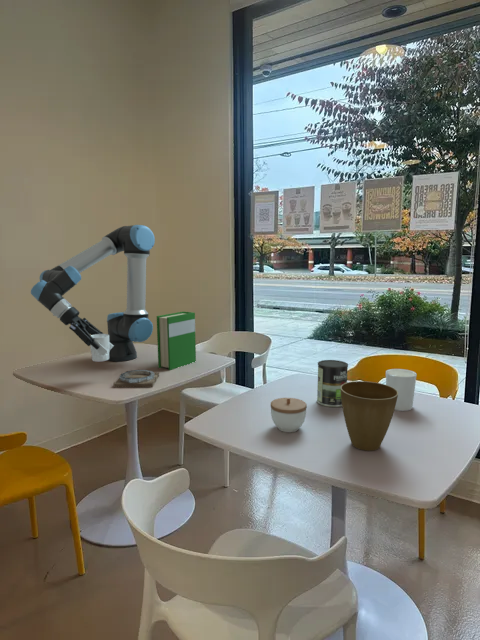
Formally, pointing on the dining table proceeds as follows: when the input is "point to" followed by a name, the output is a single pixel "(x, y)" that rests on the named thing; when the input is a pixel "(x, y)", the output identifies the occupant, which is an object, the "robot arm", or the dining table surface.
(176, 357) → the hardback book
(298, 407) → the lidded jar
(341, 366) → the coffee can
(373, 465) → the dining table surface
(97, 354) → the white cup
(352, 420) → the plant pot
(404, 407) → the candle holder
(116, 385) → the ring holder
